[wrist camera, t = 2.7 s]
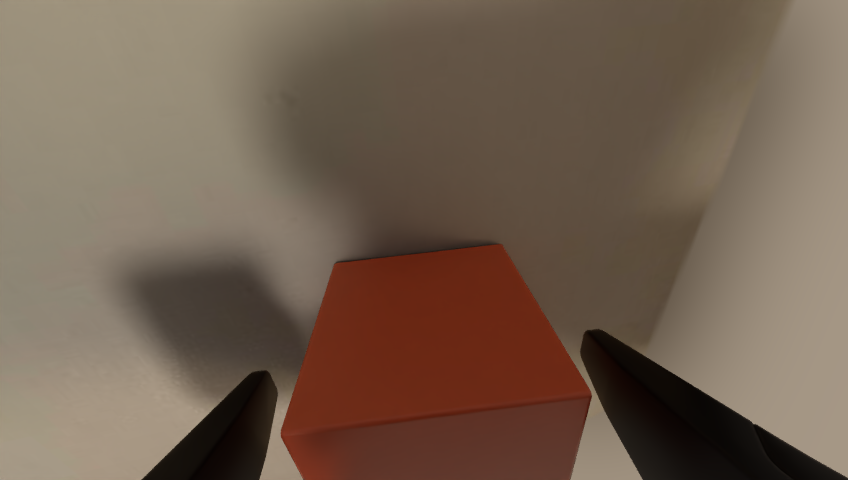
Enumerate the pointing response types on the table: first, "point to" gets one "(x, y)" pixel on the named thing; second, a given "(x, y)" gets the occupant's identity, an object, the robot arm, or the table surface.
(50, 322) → the table surface
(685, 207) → the table surface
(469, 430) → the terracotta block
